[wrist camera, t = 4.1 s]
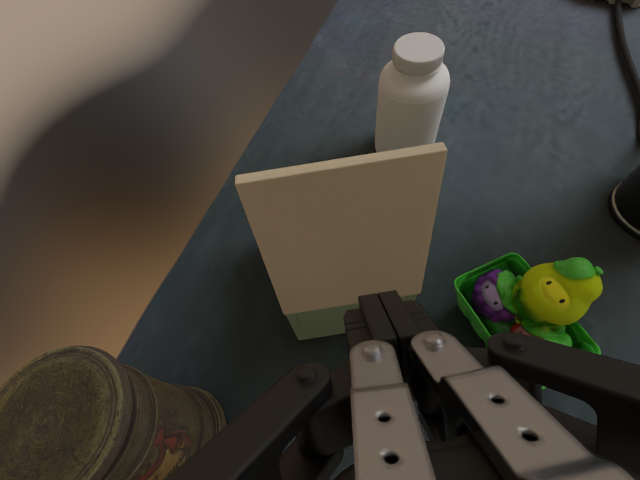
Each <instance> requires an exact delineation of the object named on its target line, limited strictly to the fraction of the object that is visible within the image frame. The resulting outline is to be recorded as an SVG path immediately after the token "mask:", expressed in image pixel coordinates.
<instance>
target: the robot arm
mask: <svg viewBox="0 0 640 480" xmlns="http://www.w3.org/2000/svg"><path fill="white" fill-rule="evenodd" d="M614 10H615V25H616V32H617V37H618V42H619V46H620V50H621V53H622V56H623V60H624V63H625V66H626V69H627V72H628V74H629V77H630V79H631V82H632V84H633V87H634V89H635V92H636V95H637V99H638V103H639V115H638V122H637V136H638V138H639V140H640V79H639V77H638V74H637V72H636V69H635V66H634V64H633V61H632V58H631V55H630V52H629V49H628V45H627V42H626V38H625V33H624V28H623V22H622V10H621V0H615V5H614ZM609 207H610V210H611V213H612V215H613V217H614V218H615V220H616V221H617V222H618V223H619V224H620V225H621V226H622V227H623V228H624V229H625V230H626V231H628V232H629V233H630V234H632V235H633V236H635V237H637V238H639V239H640V164H639V165H638V166H637V167H636V168H635V169H634V170H633V171H632V172H631V173H630V174H629V175H628V176H627V177H626V178H625V179H624V180H623V181H622V182H620V183H619V184H618V185H617V186H616V187H615V188H614V190H613V191H612V192H611V194H610V197H609ZM358 303H359V308H358V309H351V310H347V311H346V313H345V315H344V316H343V319H344V326H345V332H346V338H347V345H348V351H349V356H350V358H349V360H348V361H347V362H346V363H345V364H344V365H343V366H341V367H339V368H337V369H335V370H333V371H330V370H329V369H328V367H326V366H325V365H323V364H320V363H305V364H301V365H298V366H296V367H294V368H292V369H291V370H290V371H288V372H287V373H286V374H285V375H284V376H283V377H282V378H280V379H279V380H278V381H277V382H276V383H275V384H274V385H272V386H271V387H270V388H269V389H268V390H267V391H265V392H264V393H263V394H262V395H261V396H260V397H259V398H257V399H256V400H255V401H254V402H253V403H252V404H251V405H249V406H248V407H247V408H246V409H245V410H244V411H243V412H241V413H240V414H239V415H238V416H237V417H236V418H234V419H233V420H232V421H231V422H230V423H229V424H228V425H226V426H225V427H224V428H223V429H222V430H221V431H220V432H218V433H217V434H216V435H215V436H214V437H213V438H212V439H210V440H209V441H208V442H207V443H206V444H205V445H203V446H202V447H201V448H200V449H199V450H198V451H197V452H195V453H194V454H193V455H192V456H191V457H190V458H189V459H187V460H186V461H185V462H184V463H183V464H182V465H181V466H179V467H178V468H177V469H176V470H175V471H174V472H173V473H171V474H170V475H169V476H168V477H167V478H166V479H164V480H328V479H329V478H330V476H331V475H332V474H333V472H334V471H335V469H336V468H337V467H338V465H339V464H340V462H341V461H342V459H343V456H344V448H346V447H348V446H350V445H353V447H354V464H353V465H351V466H350V467H348V468H347V469H345V470H344V471H343V472H341V473H340V474H339V475H338V476H337V477H336V478H335V479H334V480H640V366H639V365H636V364H632V363H628V362H625V361H621V360H618V359H614V358H610V357H607V356H603V355H599V354H596V353H592V352H588V351H585V350H581V349H577V348H574V347H570V346H566V345H563V344H559V343H555V342H552V341H548V340H544V339H541V338H537V337H533V336H530V335H526V334H522V333H517V332H501V333H497V334H494V335H492V336H490V337H489V338H488V340H487V348H476V347H464V346H463V345H462V344H461V343H460V342H459V341H458V340H457V339H456V338H455V337H454V336H453V335H451V334H449V333H446V332H442V331H440V330H439V329H438V327H437V326H436V325H435V323H434V322H433V321H432V319H431V318H430V317H429V315H428V314H427V312H426V311H425V309H424V308H423V307H422V305H421V304H419V303H417V302H415V301H413V300H407V301H402V299H401V297H400V296H399V294H398V293H397V291H396V290H392V291H386V292H380V293H377V294H376V293H374V294H368V295H361V296H358ZM542 386H544V387H547V388H550V389H553V390H555V391H558V392H561V393H564V394H567V395H569V396H572V397H575V398H578V399H580V400H583V401H584V402H586V403H587V404H589V405H590V406H591V407H592V408H593V409H594V411H595V412H596V414H597V426H595V425H593V424H590V423H588V422H585V421H583V420H580V419H578V418H575V417H573V416H570V415H568V414H565V413H563V412H560V411H558V410H555V409H553V408H550V407H548V406H545V405H543V404H542ZM415 400H416V401H417V404H418V411H419V419H420V422H421V423H422V425H423V427H424V429H425V431H426V433H427V435H428V437H429V439H430V441H424V437H423V434H422V431H421V427H420V424H419V420H418V417H417V414H416V410H415V407H414V404H413V401H415ZM295 435H296V439H295V441H294V442H293V443H292V444H291V445H290V446H289V447H288V448H287V449H286V451H285V452H284V453H283V454H282V451H283V450H284V448H285V446H286V445H287V444H288V443H289V442H290V441H291V440H292V439H293V437H294V436H295ZM281 454H282V455H281Z"/></svg>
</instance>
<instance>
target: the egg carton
mask: <svg viewBox="0 0 640 480" xmlns="http://www.w3.org/2000/svg"><path fill="white" fill-rule="evenodd" d="M591 1H594V0H591ZM607 1H608V2H609V4H615V0H607ZM621 2H624V3H628V4H629V5H630V7H632V8H637V7H639V6H640V0H621Z"/></svg>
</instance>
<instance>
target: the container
mask: <svg viewBox="0 0 640 480" xmlns="http://www.w3.org/2000/svg"><path fill="white" fill-rule="evenodd" d="M226 425H227V420H226V416H225V413H224V411H223V408H222V406H221V405H220V403H219V402H218V401H217V399H216V398H215V397H214V396H213V395H211V394H210V393H208V392H207V391H205V390H202V389H199V388H196V387H190V386H180V385H177V384H170V383H165V382H162V381H159V380H157V379H154V378H152V377H150V376H147V375H145V374H142V373H141V372H140V371H138V370H137V369H135V368H133V367H130V366H127V365H122V364H120V363H119V362H118V361H117V360H116V359H115V358H114V357H113V356H112V355H110V354H109V353H107V352H105V351H103V350H101V349H98V348H94V347H90V346H69V347H64V348H59V349H56V350H52V351H50V352H47V353H45V354H43V355H41V356H39V357H37V358H36V359H34V360H32V361H30V362H29V363H27V364H26V365H25V366H23V367H22V368H21V369H19V370H18V371H17V372H16V373H15V374H14V375H13V376H12V377H10V378H9V379H8V380H7V381H6V382H5V383H4V385H3V386H2V387H1V388H0V480H164V479H166V478H167V477H168V476H169V475H170V474H171V473H173V472H174V471H175V470H176V469H177V468H178V467H179V466H181V465H182V464H183V463H184V462H185V461H186V460H187V459H189V458H190V457H191V456H192V455H193V454H194V453H195V452H197V451H198V450H199V449H200V448H201V447H202V446H203V445H205V444H206V443H207V442H208V441H209V440H210V439H212V438H213V437H214V436H215V435H216V434H217V433H218V432H220V431H221V430H222V429H223V428H224V427H225V426H226Z"/></svg>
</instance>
